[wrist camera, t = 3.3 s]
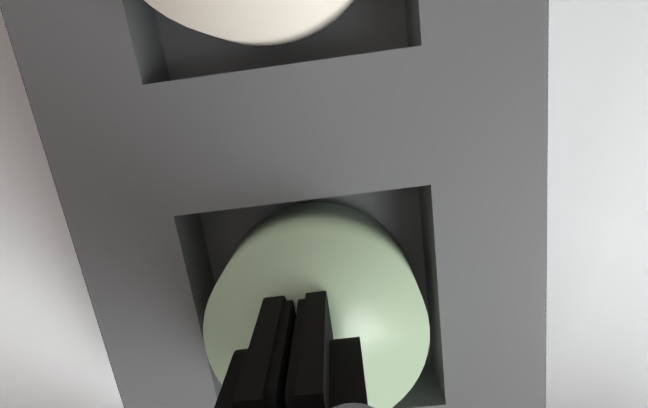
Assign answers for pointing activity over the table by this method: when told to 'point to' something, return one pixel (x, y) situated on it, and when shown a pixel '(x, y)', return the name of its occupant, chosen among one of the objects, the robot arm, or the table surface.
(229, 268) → the button sage
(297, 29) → the button cream
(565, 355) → the table surface
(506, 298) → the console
